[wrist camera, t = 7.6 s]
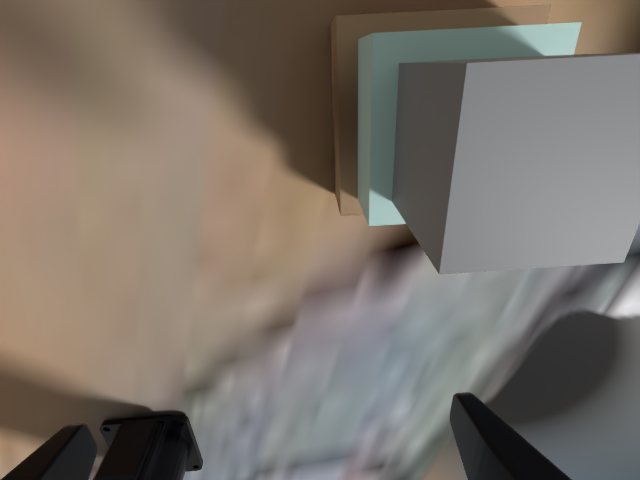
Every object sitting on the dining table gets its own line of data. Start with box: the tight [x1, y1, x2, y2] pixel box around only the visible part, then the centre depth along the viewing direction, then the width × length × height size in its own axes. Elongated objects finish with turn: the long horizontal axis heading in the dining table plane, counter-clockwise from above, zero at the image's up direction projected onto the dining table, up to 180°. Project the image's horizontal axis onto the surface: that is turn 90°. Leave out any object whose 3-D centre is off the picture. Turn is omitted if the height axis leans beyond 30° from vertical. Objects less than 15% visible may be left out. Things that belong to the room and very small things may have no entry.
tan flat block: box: [331, 5, 551, 216], centre depth 16 cm, size 8×8×3 cm
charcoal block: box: [392, 53, 640, 274], centre depth 10 cm, size 5×5×5 cm
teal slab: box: [358, 22, 582, 226], centre depth 13 cm, size 6×6×3 cm
